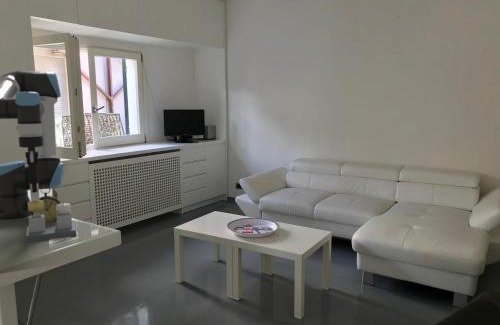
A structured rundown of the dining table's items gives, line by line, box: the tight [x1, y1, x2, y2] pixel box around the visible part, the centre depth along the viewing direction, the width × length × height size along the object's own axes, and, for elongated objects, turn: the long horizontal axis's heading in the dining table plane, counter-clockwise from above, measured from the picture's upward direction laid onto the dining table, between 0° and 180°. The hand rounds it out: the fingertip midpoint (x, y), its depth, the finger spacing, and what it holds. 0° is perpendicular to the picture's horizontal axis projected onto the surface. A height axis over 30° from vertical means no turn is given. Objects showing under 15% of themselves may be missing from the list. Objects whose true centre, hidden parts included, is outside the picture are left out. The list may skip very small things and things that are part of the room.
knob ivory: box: [56, 202, 72, 215], centre depth 149 cm, size 5×5×8 cm
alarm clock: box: [31, 186, 62, 224], centre depth 157 cm, size 11×5×16 cm, turn 119°
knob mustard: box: [28, 200, 44, 218], centre depth 145 cm, size 5×5×8 cm
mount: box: [25, 211, 77, 243], centre depth 147 cm, size 14×16×7 cm
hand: (35, 200), depth 144 cm, fingers closed
